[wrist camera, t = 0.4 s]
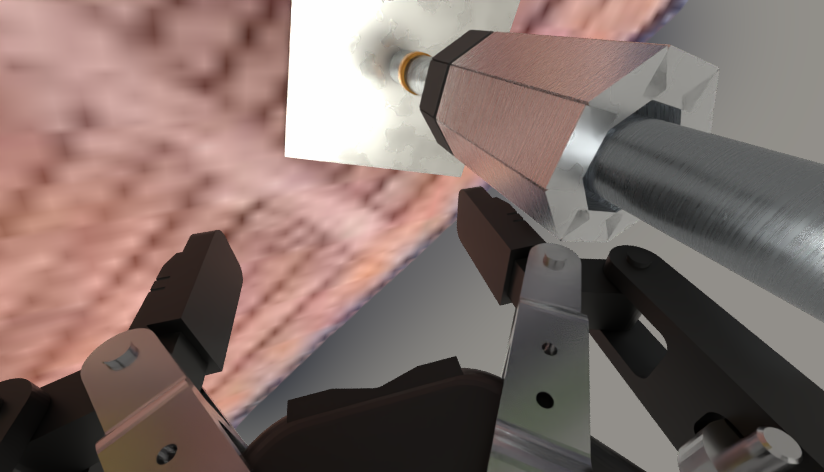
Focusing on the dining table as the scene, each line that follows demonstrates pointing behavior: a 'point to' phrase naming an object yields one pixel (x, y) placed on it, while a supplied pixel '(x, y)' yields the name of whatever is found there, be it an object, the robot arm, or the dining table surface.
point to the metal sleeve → (563, 117)
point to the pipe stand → (608, 171)
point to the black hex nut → (444, 79)
